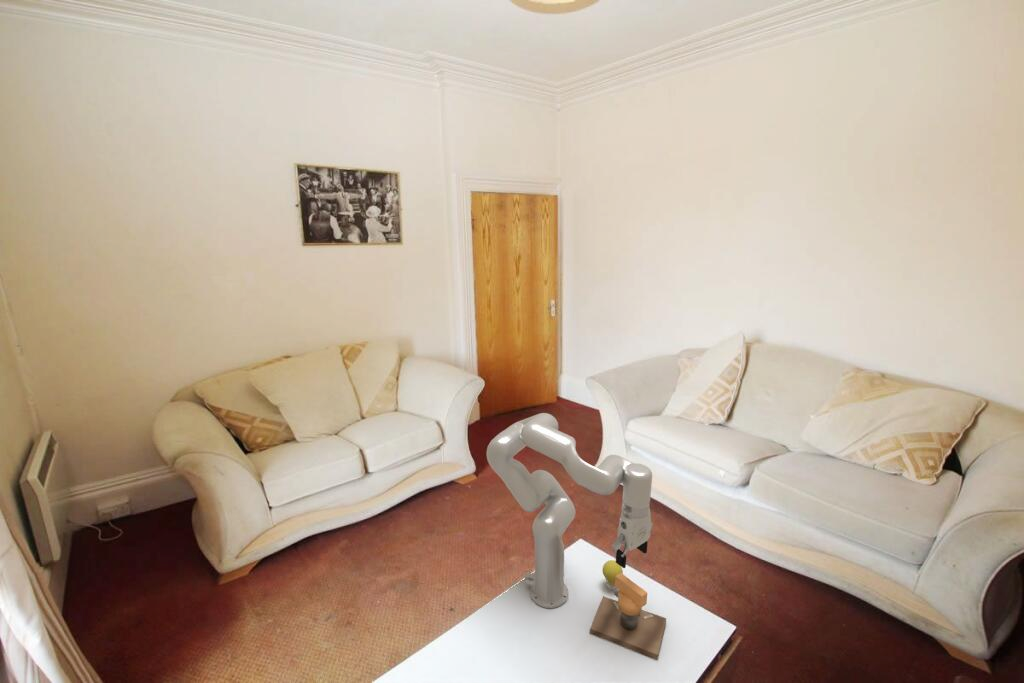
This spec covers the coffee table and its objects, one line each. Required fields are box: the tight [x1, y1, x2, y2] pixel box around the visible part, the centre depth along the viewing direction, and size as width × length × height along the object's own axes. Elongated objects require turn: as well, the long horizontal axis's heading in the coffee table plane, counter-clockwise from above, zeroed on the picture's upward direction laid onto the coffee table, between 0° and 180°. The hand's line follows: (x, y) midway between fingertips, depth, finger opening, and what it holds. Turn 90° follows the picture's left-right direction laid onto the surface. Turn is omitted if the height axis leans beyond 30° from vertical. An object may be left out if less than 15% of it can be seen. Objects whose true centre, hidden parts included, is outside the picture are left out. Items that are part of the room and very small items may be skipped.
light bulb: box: [602, 559, 624, 591], centre depth 159 cm, size 7×7×10 cm
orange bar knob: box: [614, 573, 648, 616], centre depth 141 cm, size 11×7×8 cm, turn 37°
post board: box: [589, 595, 667, 661], centre depth 143 cm, size 20×14×8 cm
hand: (631, 557), depth 138 cm, fingers open, 9 cm apart
